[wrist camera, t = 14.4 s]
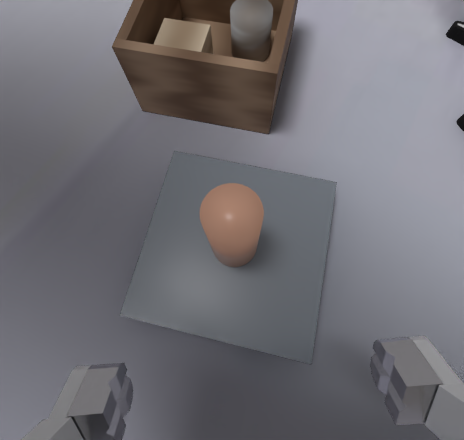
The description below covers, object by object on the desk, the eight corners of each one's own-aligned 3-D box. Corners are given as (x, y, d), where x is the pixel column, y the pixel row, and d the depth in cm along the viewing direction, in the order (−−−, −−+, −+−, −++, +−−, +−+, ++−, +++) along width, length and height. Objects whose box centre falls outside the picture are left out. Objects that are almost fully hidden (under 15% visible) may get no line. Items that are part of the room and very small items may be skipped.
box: (142, 110, 28) (111, 46, 21) (179, 17, 32) (162, -63, 25) (268, 134, 27) (277, 73, 20) (291, 34, 30) (305, -45, 24)
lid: (132, 315, 23) (59, 314, 14) (180, 165, 26) (148, 86, 17) (303, 359, 21) (349, 390, 12) (327, 194, 25) (376, 126, 16)
